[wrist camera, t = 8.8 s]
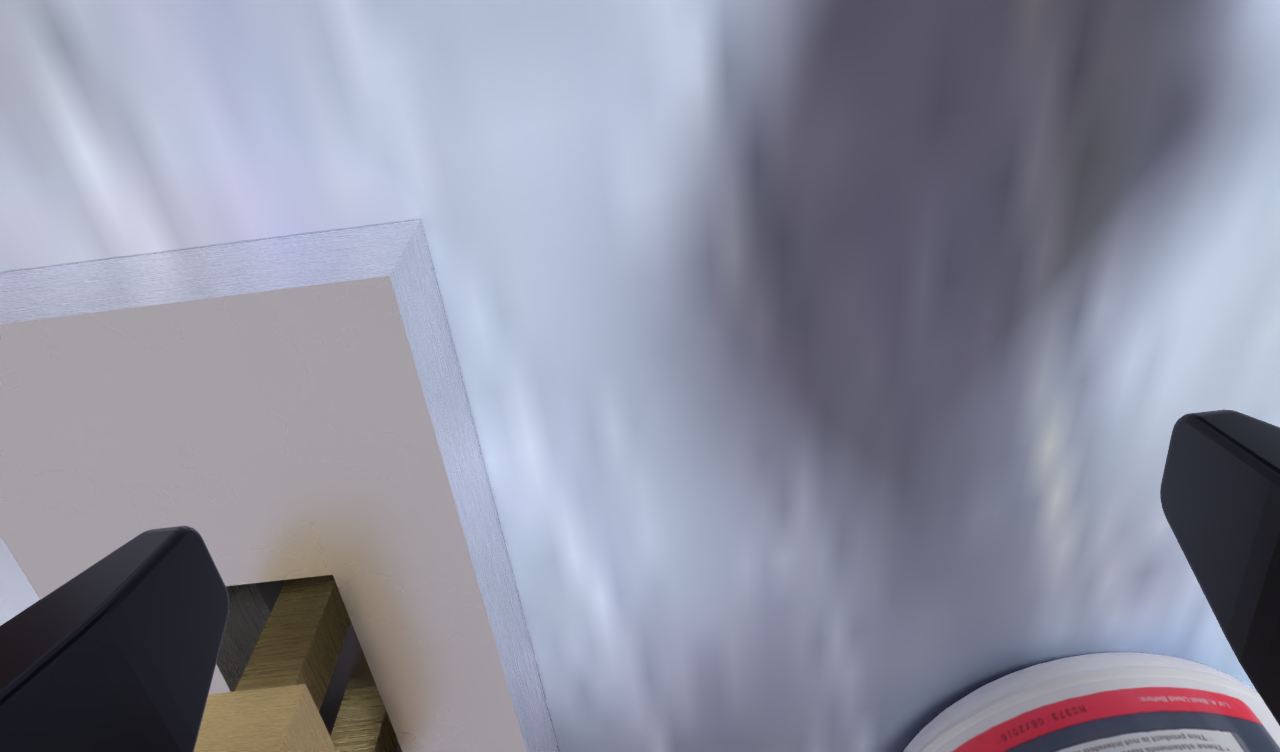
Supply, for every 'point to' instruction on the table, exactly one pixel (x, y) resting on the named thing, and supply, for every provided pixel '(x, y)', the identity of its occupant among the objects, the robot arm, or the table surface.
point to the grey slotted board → (277, 459)
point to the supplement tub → (1106, 710)
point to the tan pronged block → (296, 685)
